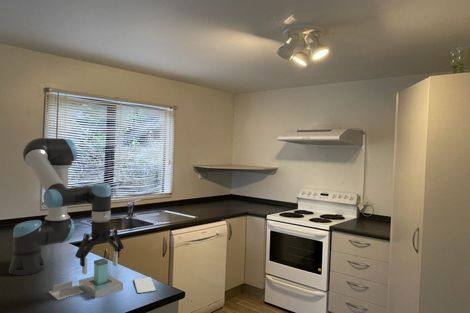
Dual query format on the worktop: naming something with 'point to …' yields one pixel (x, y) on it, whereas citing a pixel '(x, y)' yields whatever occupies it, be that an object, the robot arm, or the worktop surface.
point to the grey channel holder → (65, 290)
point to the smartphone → (144, 285)
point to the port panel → (100, 286)
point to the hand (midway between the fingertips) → (100, 269)
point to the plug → (100, 271)
